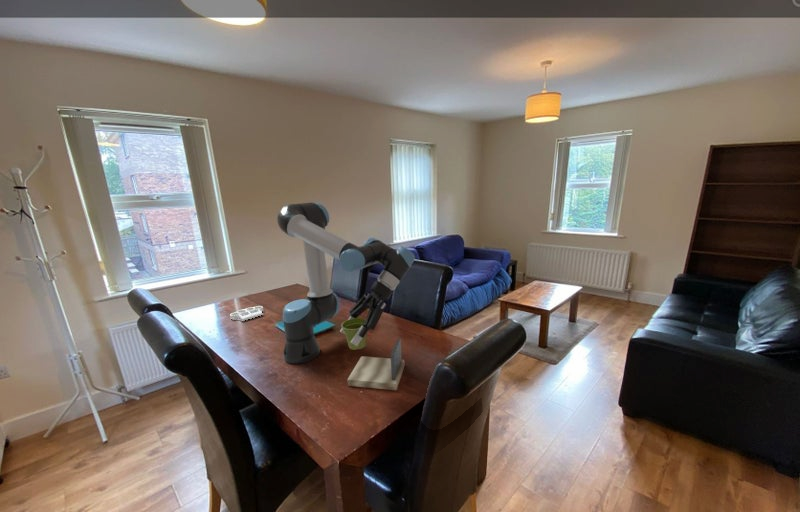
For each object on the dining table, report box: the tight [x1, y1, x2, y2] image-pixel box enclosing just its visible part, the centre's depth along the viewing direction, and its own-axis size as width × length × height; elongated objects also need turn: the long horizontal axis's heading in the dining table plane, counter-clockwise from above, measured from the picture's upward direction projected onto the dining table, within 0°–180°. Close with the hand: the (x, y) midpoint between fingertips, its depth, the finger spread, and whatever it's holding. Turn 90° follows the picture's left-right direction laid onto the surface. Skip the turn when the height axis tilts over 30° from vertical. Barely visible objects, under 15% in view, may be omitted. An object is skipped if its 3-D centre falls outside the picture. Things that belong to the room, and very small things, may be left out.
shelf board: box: [347, 356, 406, 391], centre depth 118 cm, size 18×16×2 cm
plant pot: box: [340, 317, 367, 351], centre depth 109 cm, size 9×9×9 cm
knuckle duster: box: [229, 305, 264, 322], centre depth 180 cm, size 3×18×15 cm
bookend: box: [390, 338, 402, 380], centre depth 115 cm, size 1×12×10 cm, turn 169°
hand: (348, 338), depth 107 cm, fingers closed on plant pot, 9 cm apart
